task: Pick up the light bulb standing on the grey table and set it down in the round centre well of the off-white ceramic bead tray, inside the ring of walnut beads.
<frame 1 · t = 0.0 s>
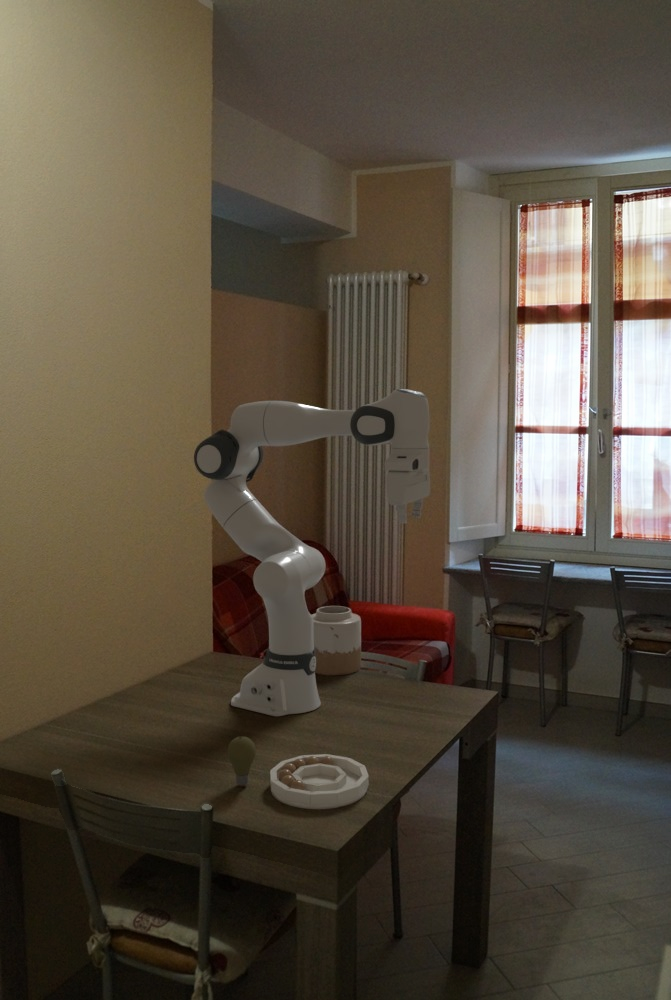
hand: (409, 520, 216), 48 cm above the table, fingers open, 8 cm apart
light bulb: (242, 786, 186), on the table
vase: (334, 668, 265), on the table
bead tray: (319, 787, 185), on the table
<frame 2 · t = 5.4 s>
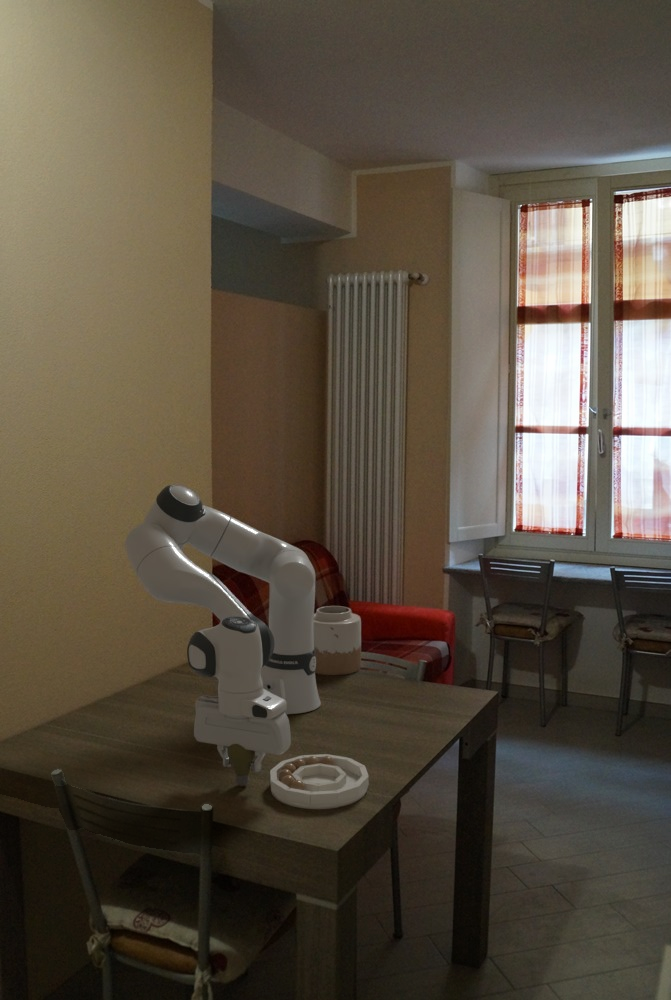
hand: (242, 768, 186), 4 cm above the table, fingers closed on light bulb, 5 cm apart
light bulb: (242, 786, 186), on the table, touching gripper
everything else where it was.
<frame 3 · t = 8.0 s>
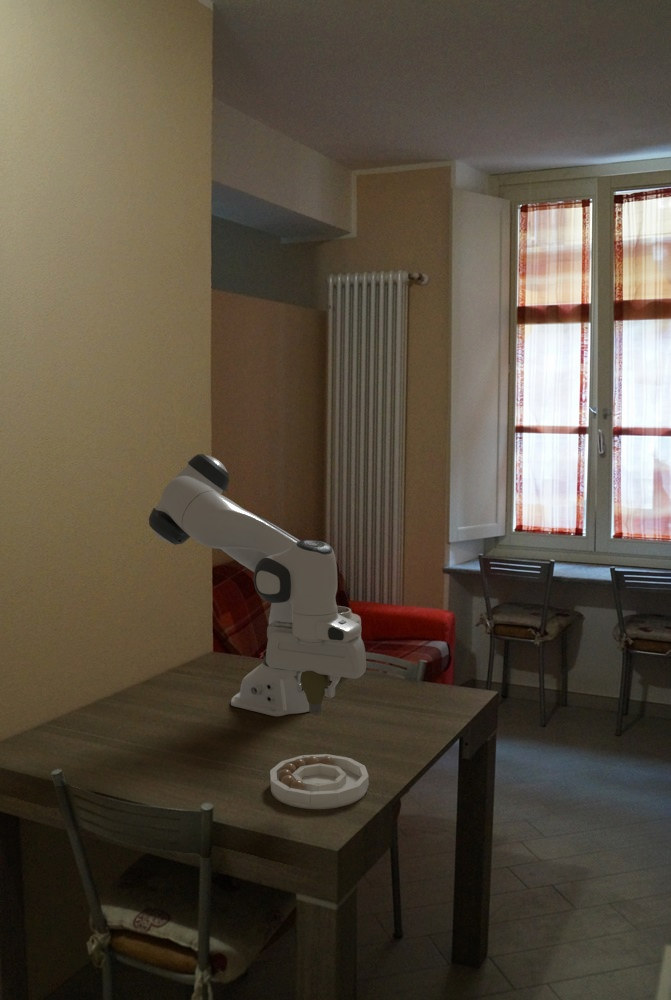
hand: (315, 694, 183), 19 cm above the table, fingers closed on light bulb, 5 cm apart
light bulb: (315, 715, 183), point 15 cm above the table, touching gripper
everything else where it was.
when the fingers open (6 cm above the table, at t = 11.0 s): light bulb moves 1 cm, resting on bead tray.
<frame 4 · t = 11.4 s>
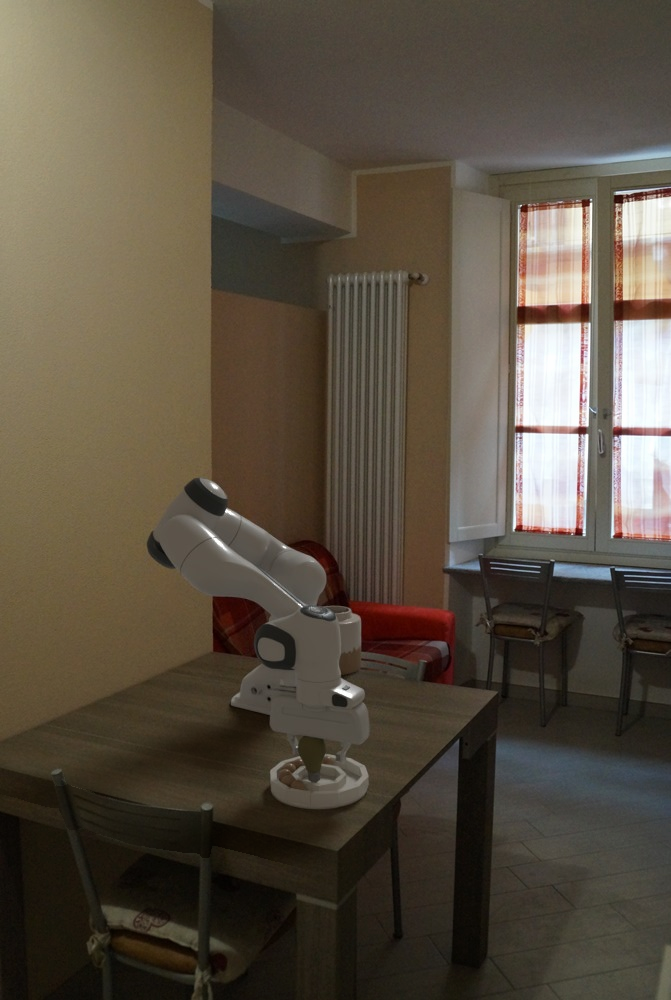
hand: (318, 758, 184), 6 cm above the table, fingers open, 8 cm apart
light bulb: (314, 783, 185), point 1 cm above the table, touching bead tray, gripper
everything else where it was.
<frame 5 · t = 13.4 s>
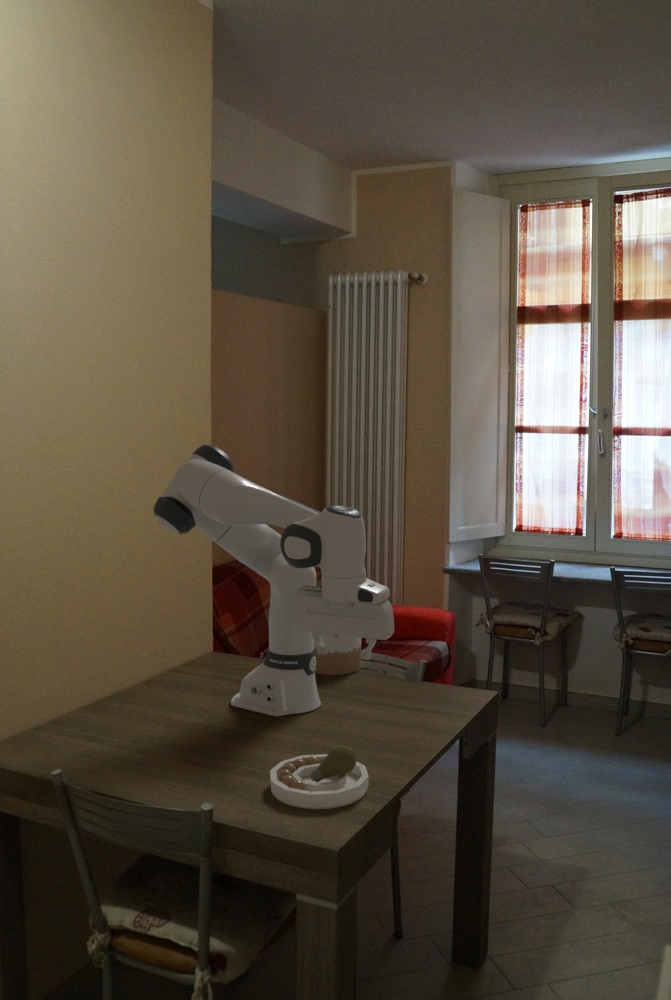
hand: (344, 656, 187), 25 cm above the table, fingers open, 8 cm apart
light bulb: (310, 779, 184), point 2 cm above the table, touching bead tray
everything else where it was.
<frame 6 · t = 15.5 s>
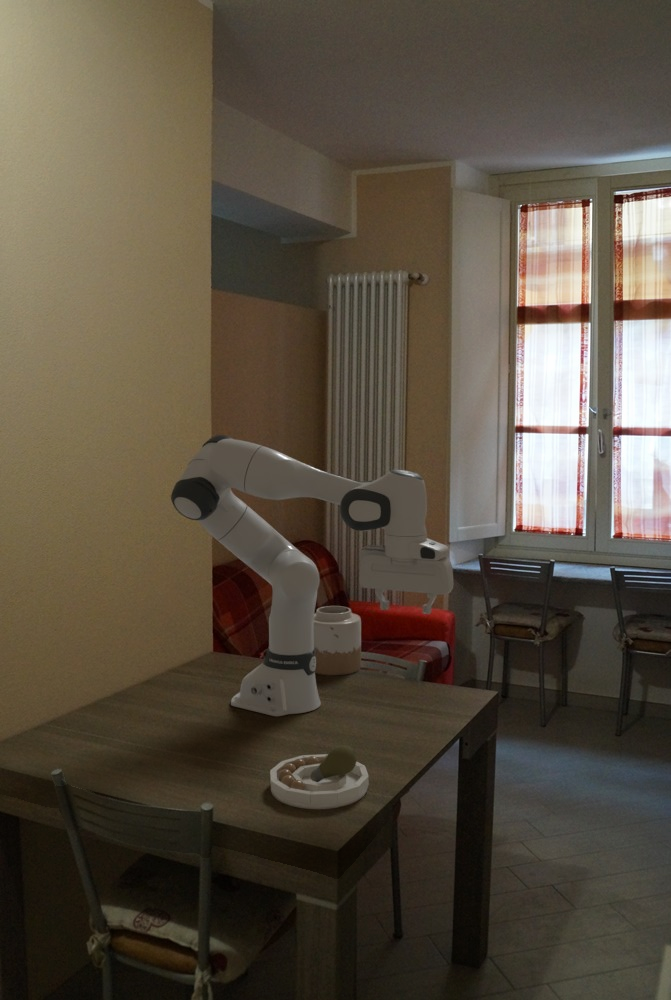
hand: (405, 611, 199), 31 cm above the table, fingers open, 8 cm apart
nothing on the table moved.
at the end: light bulb inside the target area on the bead tray (1.7 cm from its centre), point 2.0 cm above the bead tray's base; the gripper is holding nothing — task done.
